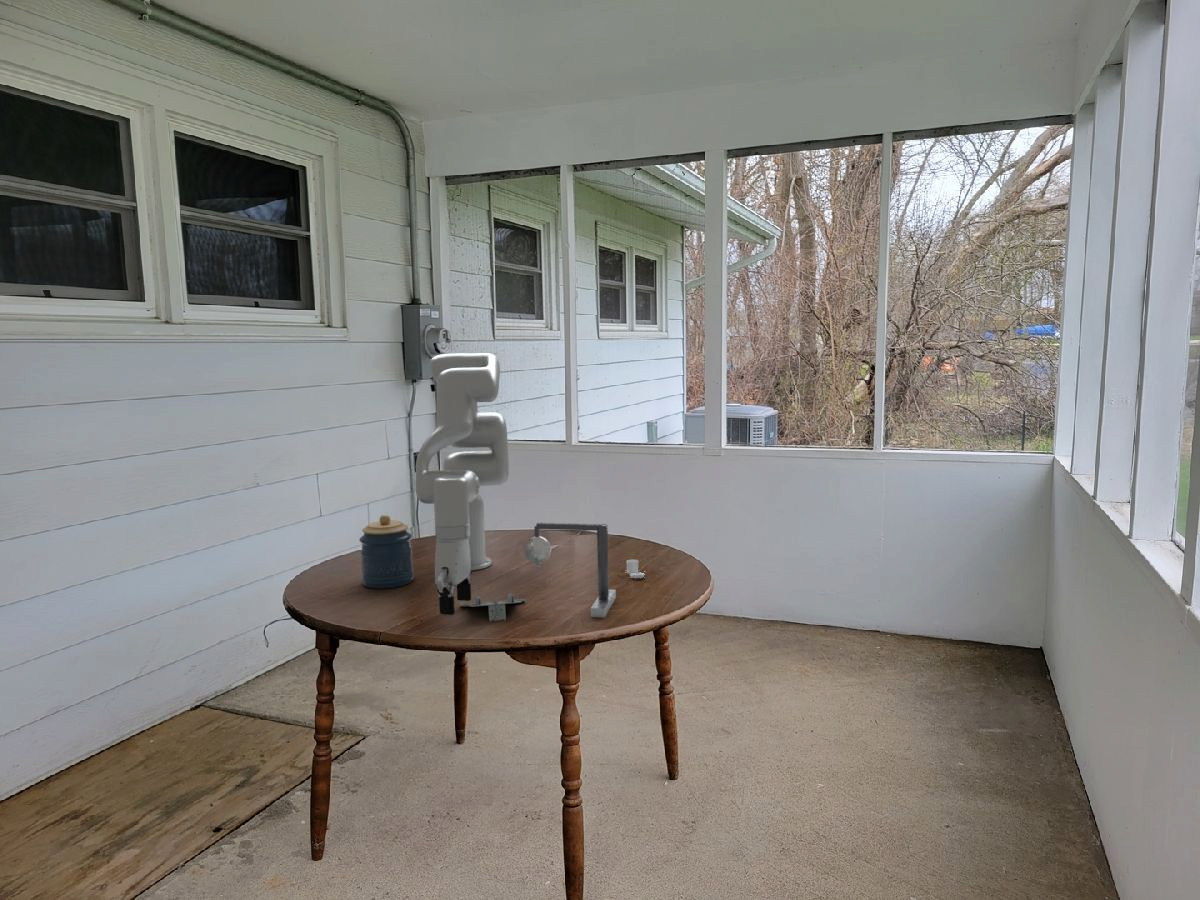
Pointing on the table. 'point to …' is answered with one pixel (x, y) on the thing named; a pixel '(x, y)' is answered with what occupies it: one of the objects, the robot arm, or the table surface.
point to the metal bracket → (495, 607)
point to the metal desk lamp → (540, 550)
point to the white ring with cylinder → (633, 569)
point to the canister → (386, 554)
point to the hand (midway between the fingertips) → (456, 607)
